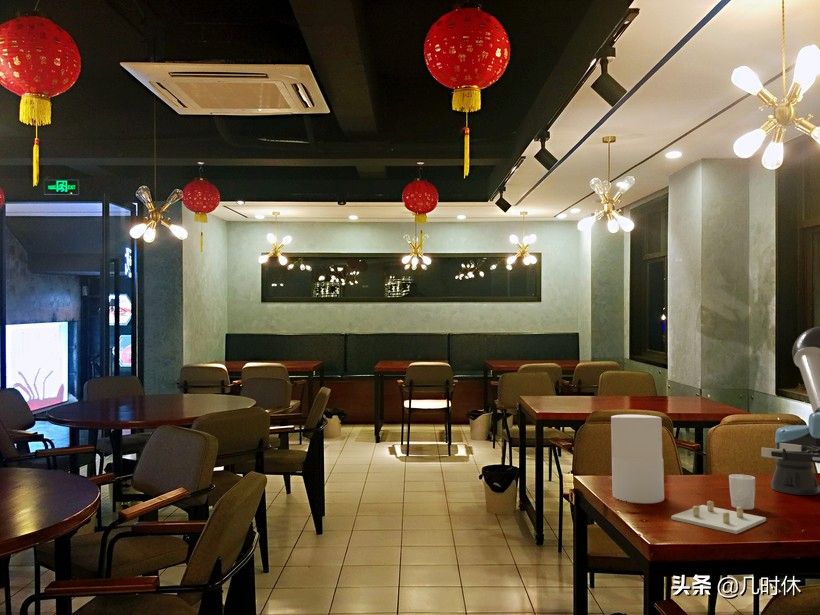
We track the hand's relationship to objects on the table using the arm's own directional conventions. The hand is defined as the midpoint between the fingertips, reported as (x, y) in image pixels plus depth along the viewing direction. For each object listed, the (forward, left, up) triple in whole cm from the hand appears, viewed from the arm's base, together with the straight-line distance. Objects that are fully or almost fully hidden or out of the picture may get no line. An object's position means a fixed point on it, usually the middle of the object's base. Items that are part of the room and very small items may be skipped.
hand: (770, 449), depth 212 cm
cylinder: (+36, -21, -20) cm, 47 cm away
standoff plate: (+21, +8, -20) cm, 30 cm away
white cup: (+6, -7, -20) cm, 23 cm away
